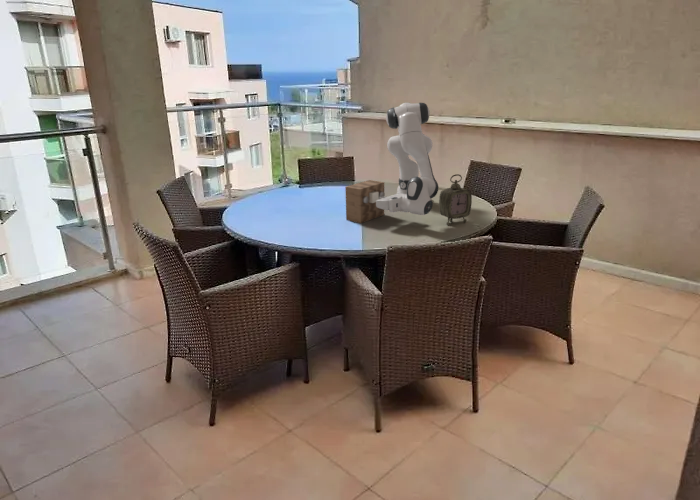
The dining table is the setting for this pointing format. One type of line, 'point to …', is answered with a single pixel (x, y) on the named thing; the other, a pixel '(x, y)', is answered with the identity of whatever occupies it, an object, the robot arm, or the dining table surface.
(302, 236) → the dining table surface
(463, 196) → the tabletop clock
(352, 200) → the wooden block with knobs
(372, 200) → the cream button
